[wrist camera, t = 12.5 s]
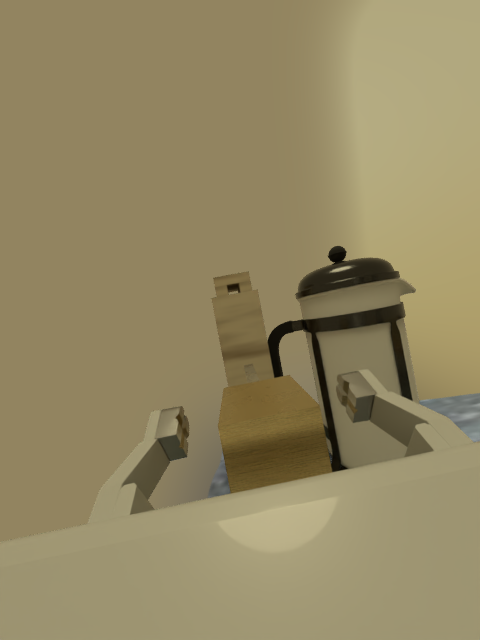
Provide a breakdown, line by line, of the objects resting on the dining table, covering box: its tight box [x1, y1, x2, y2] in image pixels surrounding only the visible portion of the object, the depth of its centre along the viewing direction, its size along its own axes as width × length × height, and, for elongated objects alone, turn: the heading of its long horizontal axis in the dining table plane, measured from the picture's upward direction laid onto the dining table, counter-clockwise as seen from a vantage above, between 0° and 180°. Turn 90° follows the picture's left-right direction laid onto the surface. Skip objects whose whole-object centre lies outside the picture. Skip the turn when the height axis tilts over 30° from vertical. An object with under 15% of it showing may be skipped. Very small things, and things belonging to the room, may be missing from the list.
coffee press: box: [268, 246, 420, 472], centre depth 32 cm, size 17×16×30 cm
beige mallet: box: [218, 364, 332, 494], centre depth 18 cm, size 18×4×4 cm, turn 1°
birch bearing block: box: [212, 272, 274, 387], centre depth 34 cm, size 8×6×28 cm
